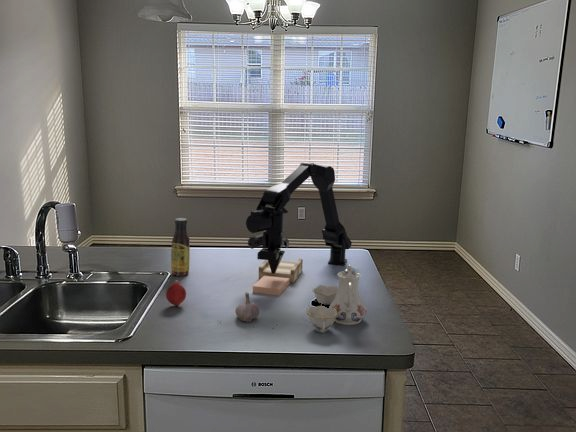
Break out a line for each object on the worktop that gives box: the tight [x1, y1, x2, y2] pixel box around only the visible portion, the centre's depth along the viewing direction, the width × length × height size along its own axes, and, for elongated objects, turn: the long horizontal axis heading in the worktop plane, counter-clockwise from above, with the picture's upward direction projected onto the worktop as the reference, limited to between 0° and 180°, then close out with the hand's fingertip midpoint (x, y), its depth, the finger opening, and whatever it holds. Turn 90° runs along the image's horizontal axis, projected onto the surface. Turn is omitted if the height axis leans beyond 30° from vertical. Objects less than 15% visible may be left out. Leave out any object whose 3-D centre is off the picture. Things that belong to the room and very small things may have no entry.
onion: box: [165, 280, 187, 307], centre depth 166 cm, size 6×6×8 cm
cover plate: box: [252, 275, 291, 296], centre depth 184 cm, size 12×9×2 cm
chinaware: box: [306, 264, 368, 333], centre depth 159 cm, size 28×17×17 cm, turn 177°
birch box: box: [258, 258, 304, 284], centre depth 196 cm, size 14×12×4 cm
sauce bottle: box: [170, 217, 191, 277], centre depth 193 cm, size 7×6×20 cm
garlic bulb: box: [235, 291, 260, 323], centre depth 158 cm, size 8×7×8 cm
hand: (273, 273), depth 186 cm, fingers closed
